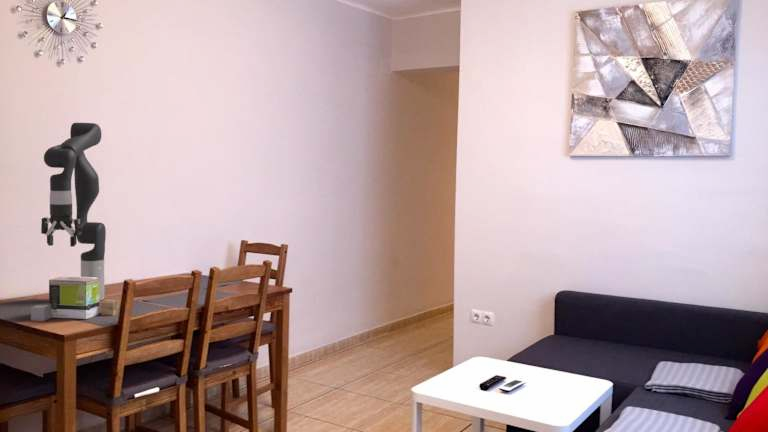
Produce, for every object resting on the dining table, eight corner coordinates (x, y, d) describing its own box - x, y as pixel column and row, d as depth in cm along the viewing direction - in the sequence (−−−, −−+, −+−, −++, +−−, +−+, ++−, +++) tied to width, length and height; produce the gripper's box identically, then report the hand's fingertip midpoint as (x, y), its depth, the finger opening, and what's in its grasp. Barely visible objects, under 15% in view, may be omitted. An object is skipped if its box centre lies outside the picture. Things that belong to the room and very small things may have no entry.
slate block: (38, 317, 246) (38, 304, 246) (51, 318, 246) (51, 304, 246) (30, 320, 241) (30, 306, 241) (44, 321, 241) (43, 307, 241)
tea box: (100, 314, 255) (100, 276, 254) (86, 320, 245) (85, 281, 244) (63, 312, 256) (63, 274, 255) (48, 317, 246) (48, 279, 245)
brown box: (106, 312, 259) (106, 299, 258) (119, 312, 258) (119, 300, 258) (100, 315, 254) (100, 302, 253) (113, 315, 253) (113, 302, 253)
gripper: (84, 202, 246) (85, 245, 248) (48, 201, 247) (49, 243, 249) (74, 204, 239) (74, 248, 240) (36, 202, 239) (37, 246, 241)
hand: (61, 245), depth 244 cm, fingers open, 8 cm apart
